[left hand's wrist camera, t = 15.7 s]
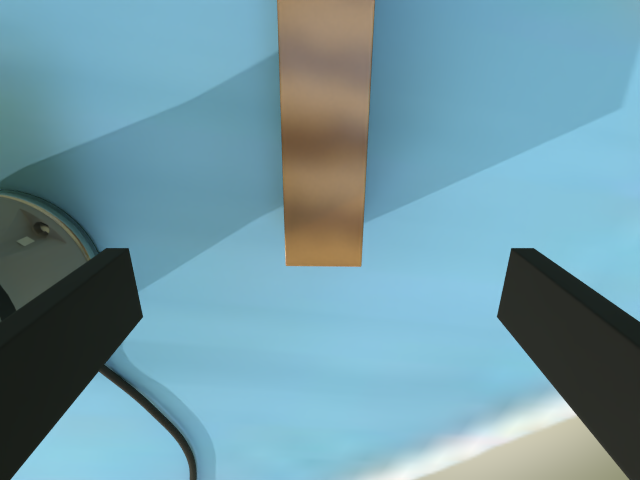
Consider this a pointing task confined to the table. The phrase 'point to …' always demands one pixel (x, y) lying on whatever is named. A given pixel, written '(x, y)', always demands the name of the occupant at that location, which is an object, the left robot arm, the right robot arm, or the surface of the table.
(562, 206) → the table surface
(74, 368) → the left robot arm
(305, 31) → the bar
